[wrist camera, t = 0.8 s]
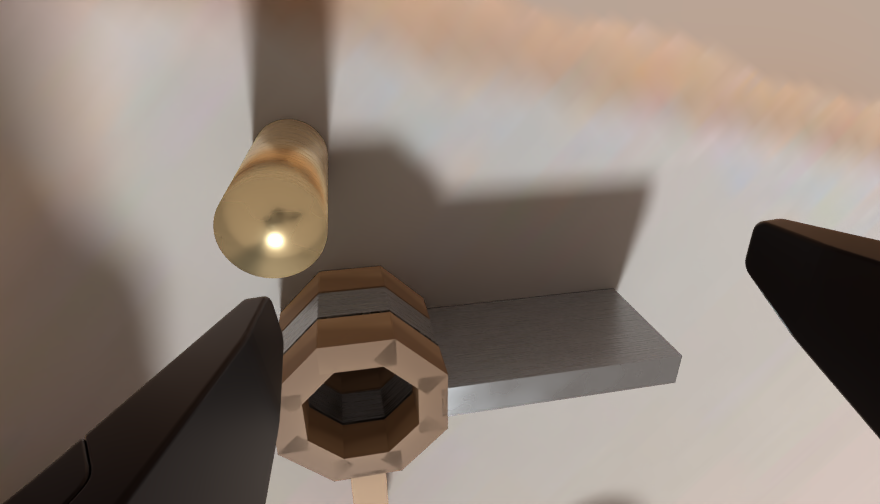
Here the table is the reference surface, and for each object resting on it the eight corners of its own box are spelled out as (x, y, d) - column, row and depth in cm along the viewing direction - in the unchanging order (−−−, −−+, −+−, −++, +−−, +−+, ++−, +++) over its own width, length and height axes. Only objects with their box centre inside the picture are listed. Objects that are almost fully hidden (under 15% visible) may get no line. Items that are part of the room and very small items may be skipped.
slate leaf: (293, 392, 26) (284, 490, 21) (274, 275, 23) (257, 355, 18) (602, 351, 29) (663, 427, 24) (621, 243, 26) (695, 303, 21)
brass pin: (259, 192, 21) (224, 283, 14) (247, 120, 20) (202, 181, 13) (331, 187, 22) (332, 273, 15) (324, 117, 20) (321, 174, 13)
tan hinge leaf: (274, 275, 23) (257, 355, 18) (422, 261, 24) (448, 332, 19) (316, 525, 31) (313, 632, 25) (427, 505, 32) (446, 603, 27)
